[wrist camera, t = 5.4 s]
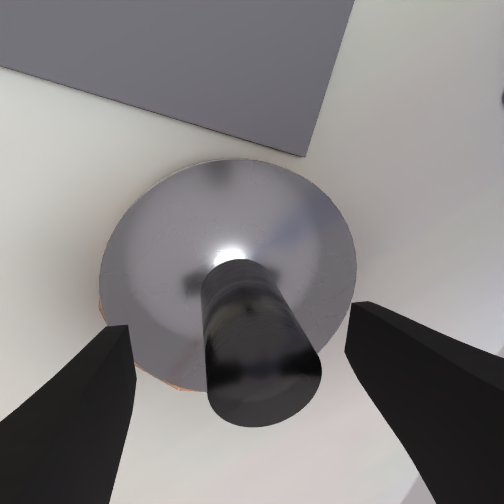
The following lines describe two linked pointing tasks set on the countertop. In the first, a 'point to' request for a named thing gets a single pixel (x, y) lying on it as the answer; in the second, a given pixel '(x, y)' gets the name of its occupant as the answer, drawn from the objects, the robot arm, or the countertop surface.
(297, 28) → the mat
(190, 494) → the countertop surface
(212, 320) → the lid
